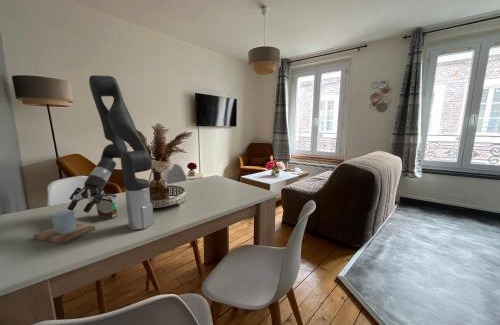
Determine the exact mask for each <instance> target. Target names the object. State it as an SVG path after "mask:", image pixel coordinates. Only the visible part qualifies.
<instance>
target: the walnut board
mask: <svg viewBox="0 0 500 325" xmlns="http://www.w3.org/2000/svg"><path fill="white" fill-rule="evenodd" d="M94 230H96V226H95V225H88V224H82V223H76V229H74V230H72V231H69V232H67V233H65V234H60V233H54V228H53V226H52V227H50V228H48V229H45V230H43V231H41V232H38V233H35V234H34V235H33V239H34V240H40V241H46V242H50V243H51V242H53V243H57V244H64V245H67V244H68V243H71V242H73V241H75V240H77V239H79V238H81V237H83V236H84V235H87V234H90V232H93V231H94Z"/></svg>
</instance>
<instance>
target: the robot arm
mask: <svg viewBox="0 0 500 325" xmlns="http://www.w3.org/2000/svg"><path fill="white" fill-rule="evenodd" d="M88 81H89V82H88V83H89V84H88V85H89V89H90V92H91V95H92V98H93V101H94V103H95V107H96V110H97V113H98V114H99V117H100V122H101V125H102V129H103V135H104V138H105V139H106V140H107V141H110V142H112V143H109V144H107V145H106V146H105V147H104V148H103V150H102V154H101V156H100V161H99V162H98V163H97V165H96V166H95V167H94V169H93V170H92V171H91V173H90V174H89V176H87V179H86V180H85V181H84V184H83V185H84V186H83V188H81V187H79V186H78V187H76V188H75V190H74V191H73V192H72V194H71V195H70V197H68V199H69V200H71V201H70V203H69V205H68V207H67V211H74V209H75V208H76V206H77V205H78V203H79V202H80V201H84V200H86V199H87V200H88V202H87V204H85V206H84V208H83V210H82V211H83V212H84V213H89V212H90V211H91V210H92V208H93V206H96V204H99V203H100V201H101V199H102V197H103V195H104V194H106V192H105V191H104V187H105V186H106V185H107V183H108V181H109V179H110V177H111V175H112V173H113V171H114V170H115V168H116V166H117V163H116V162H115V160H113V159H120V167H121V171H122V178H123V184H124V192H125V202H126V212H127V213H126V214H127V222H128V228H129V229H130V230H132V231H133V230H134V231H135V230H136V231H138V230H137V229H139V230H145V228H146V229H148V228H149V227H150V226H152V225H153V224H154V222H155V220H154V207H153V203H152V202H151V195H150V183H149V182H150V181H149V180H147V179H145V178H138V177H136V173H141V172H142V173H143V172H147V171H150V170H151V169H152V167H153V163H152V162H153V161H152V157H151V155H150V153H149V151H148V149H147V148H146V146H145V144H144V142H143V141H142V138H141V137H140V135H139V133H138V130H137V129H136V125H135V123H134V121H133V118H132V116H131V114H130V112H129V109H128V107H127V106H126V102H125V101H124V97H123V94H122V92H121V89H120V85H119V84H118V81H117V79H116V78H115V77H114V76H111V75H94V74H93V75H90V76H89V78H88ZM102 97H112V98H113V100H112V104H111V106H110V109H109V108H108V107H107V106H106V105H105V103H104V100H103V98H102ZM126 144H128V146H130V147H131V148H132V150H133V151H131V150H130V151H128V146H127V145H126ZM97 199H98V200H97ZM148 226H149V227H148Z"/></svg>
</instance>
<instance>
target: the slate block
mask: <svg viewBox="0 0 500 325" xmlns="http://www.w3.org/2000/svg"><path fill="white" fill-rule="evenodd" d="M75 214H76V213H75V210H72V211H70V210H68V209H67V210H66V209H64V210H61V211H59V212H56V213H55V212H54V213H53V214H51V221H52V227H53V228H54V233H60V234H65V233H67V232H69V231H72V230H74V229H76V224H77V221H76V216H75Z"/></svg>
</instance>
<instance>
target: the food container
mask: <svg viewBox="0 0 500 325" xmlns="http://www.w3.org/2000/svg"><path fill="white" fill-rule="evenodd" d="M97 200H98V199H97ZM118 201H119V198H118V195H117V194H113V193H105V194H104V195H103V197H102V199H101V201H100V203H99V204H95V206H96V212H97V216H98V217H101V218H106V219H110V220H113V219H115V218H117V216H118Z"/></svg>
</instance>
